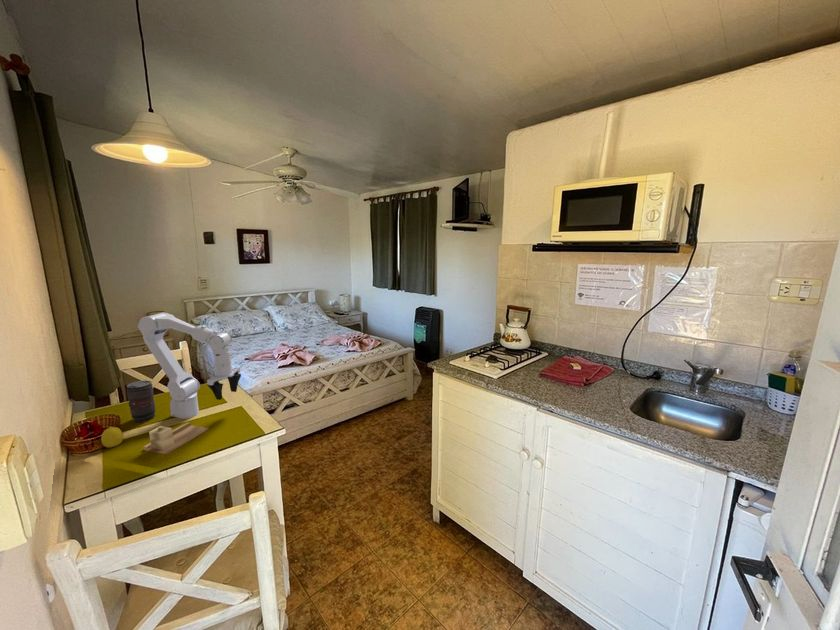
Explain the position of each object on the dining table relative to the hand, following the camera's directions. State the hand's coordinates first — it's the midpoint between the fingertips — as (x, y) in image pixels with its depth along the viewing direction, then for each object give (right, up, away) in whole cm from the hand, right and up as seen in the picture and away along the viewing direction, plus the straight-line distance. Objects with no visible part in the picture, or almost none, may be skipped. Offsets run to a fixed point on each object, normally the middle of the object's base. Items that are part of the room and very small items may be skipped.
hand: (226, 395), depth 139 cm
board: (-8, -13, -16) cm, 22 cm away
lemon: (-28, -14, -19) cm, 37 cm away
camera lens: (-34, -10, +2) cm, 36 cm away
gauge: (-10, -13, -21) cm, 26 cm away
